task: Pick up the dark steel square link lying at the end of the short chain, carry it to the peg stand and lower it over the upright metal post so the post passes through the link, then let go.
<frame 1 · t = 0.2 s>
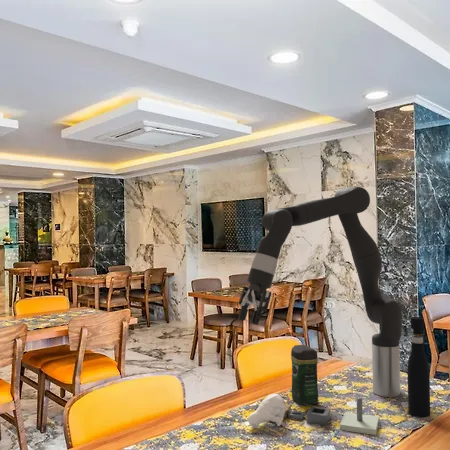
hand: (247, 321, 140), 31 cm above the table, tool tilted 20°, fingers open, 8 cm apart
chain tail: (284, 415, 146), on the table
link: (318, 420, 142), on the table
black water bottle: (419, 414, 146), on the table
coffee jar: (305, 401, 159), on the table
peg stand: (359, 425, 138), on the table
white lumpy piece: (265, 426, 139), on the table
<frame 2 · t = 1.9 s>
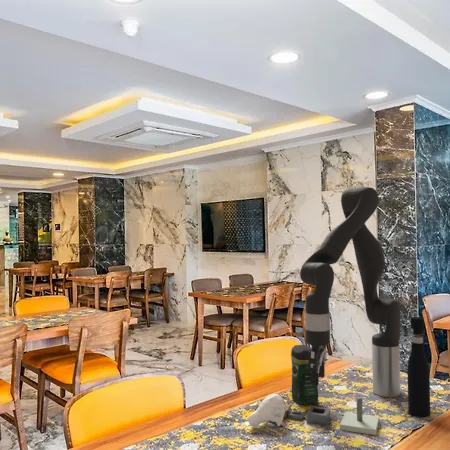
hand: (318, 381, 142), 12 cm above the table, tool pointing down, fingers open, 8 cm apart
nothing on the table moved.
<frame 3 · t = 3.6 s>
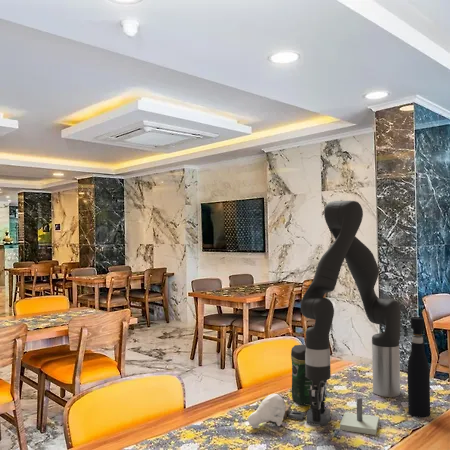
hand: (318, 417, 142), 1 cm above the table, tool pointing down, fingers closed on link, 6 cm apart
link: (318, 420, 142), on the table, touching gripper
everything else where it was.
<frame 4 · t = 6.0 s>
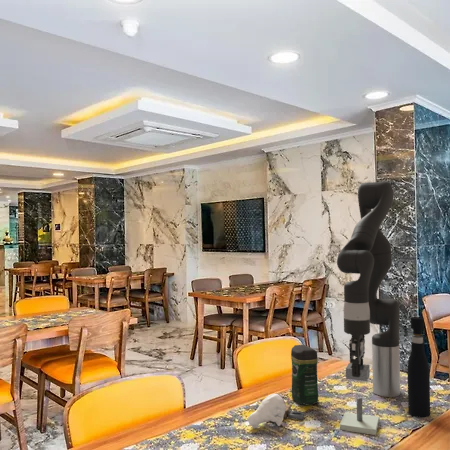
hand: (357, 373, 138), 15 cm above the table, tool pointing down, fingers closed on link, 6 cm apart
link: (357, 376, 138), point 14 cm above the table, touching gripper
everything else where it was.
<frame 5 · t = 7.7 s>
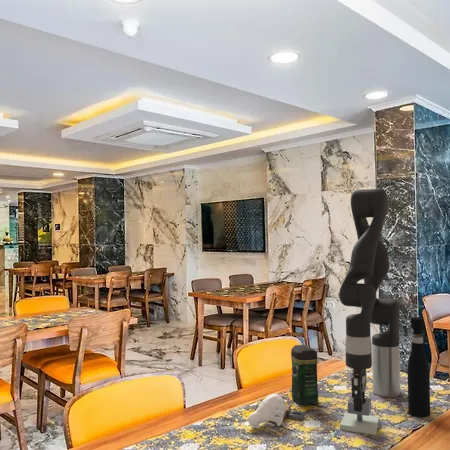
hand: (359, 407, 138), 5 cm above the table, tool pointing down, fingers closed on link, 6 cm apart
link: (359, 410, 138), point 4 cm above the table, touching gripper
everything else where it was.
when the fingers open (5 cm above the table, at t = 8.7 s): link drops 2 cm, resting on peg stand.
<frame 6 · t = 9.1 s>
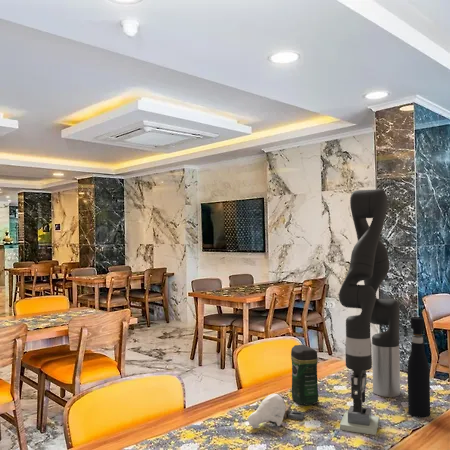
hand: (359, 406, 138), 6 cm above the table, tool pointing down, fingers open, 8 cm apart
link: (359, 420, 138), point 1 cm above the table, touching peg stand
everything else where it was.
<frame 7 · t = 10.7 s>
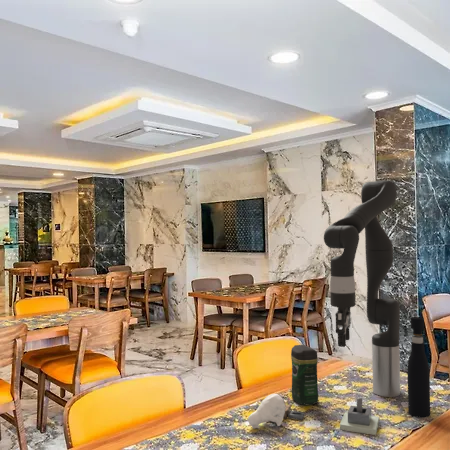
hand: (343, 343, 143), 23 cm above the table, tool pointing down, fingers open, 8 cm apart
nothing on the table moved.
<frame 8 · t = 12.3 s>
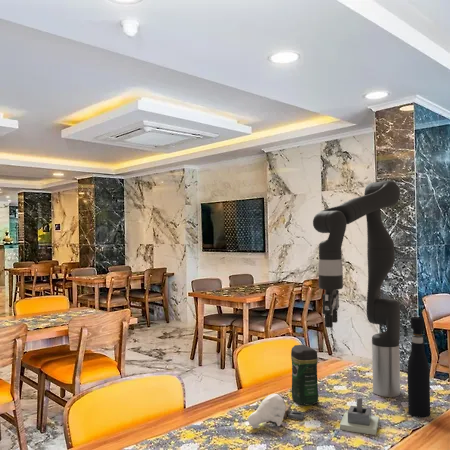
hand: (331, 324, 147), 28 cm above the table, tool pointing down, fingers open, 8 cm apart
nothing on the table moved.
at the end: link 0.1 cm from the peg stand (horizontally); link point 1.5 cm above the table; the gripper is holding nothing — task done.
